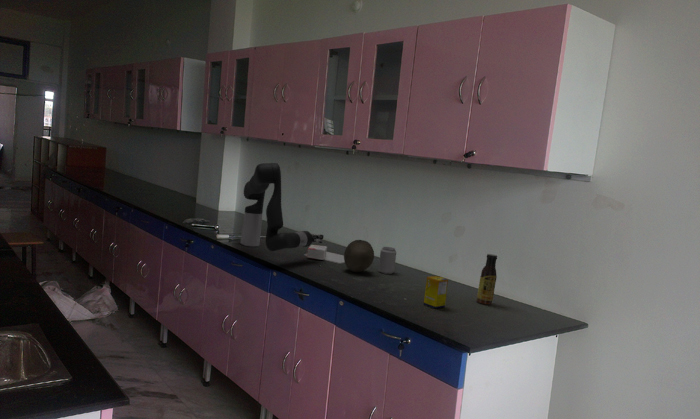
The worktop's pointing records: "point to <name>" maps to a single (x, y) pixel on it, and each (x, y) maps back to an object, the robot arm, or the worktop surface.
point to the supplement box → (435, 291)
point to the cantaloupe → (358, 255)
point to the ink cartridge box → (317, 252)
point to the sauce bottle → (487, 281)
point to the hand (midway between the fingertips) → (322, 236)
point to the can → (387, 260)
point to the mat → (333, 258)
